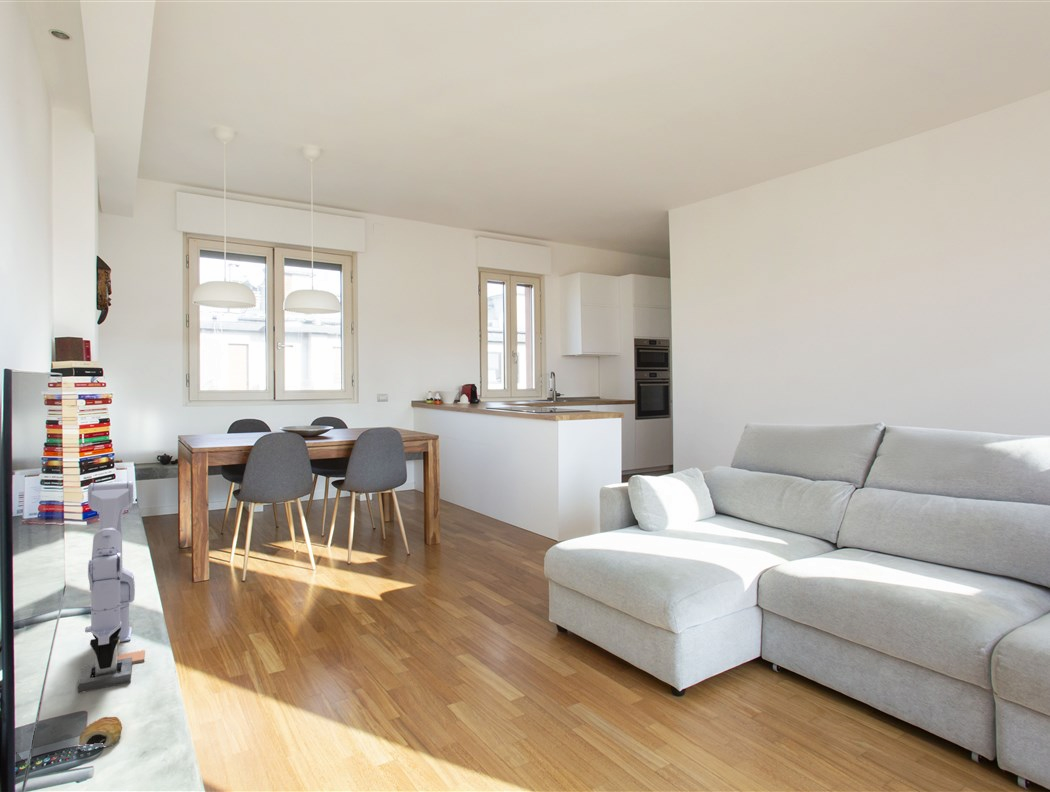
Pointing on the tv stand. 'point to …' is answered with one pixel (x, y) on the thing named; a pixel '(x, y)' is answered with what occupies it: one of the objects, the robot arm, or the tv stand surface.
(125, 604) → the robot arm
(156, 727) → the tv stand surface
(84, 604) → the tv stand surface
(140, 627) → the tv stand surface
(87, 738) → the pastry
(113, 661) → the steel key
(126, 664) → the charcoal socket
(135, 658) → the terracotta pad
